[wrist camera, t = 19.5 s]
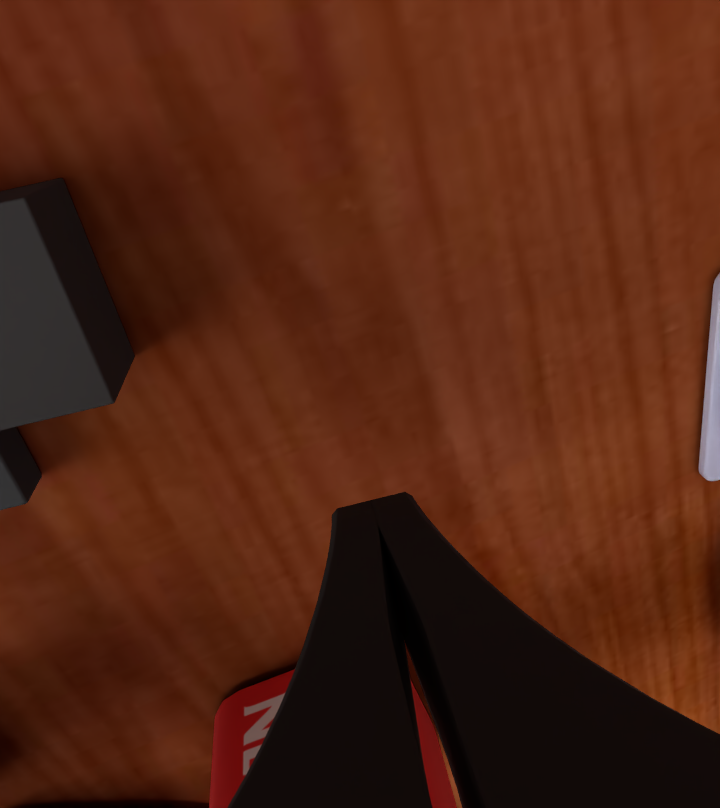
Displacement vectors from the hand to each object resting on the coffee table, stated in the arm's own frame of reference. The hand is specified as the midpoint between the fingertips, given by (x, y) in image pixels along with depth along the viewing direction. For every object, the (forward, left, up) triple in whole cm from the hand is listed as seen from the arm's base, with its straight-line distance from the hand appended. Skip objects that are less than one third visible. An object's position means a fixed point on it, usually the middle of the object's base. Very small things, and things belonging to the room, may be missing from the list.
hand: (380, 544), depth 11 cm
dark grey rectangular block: (+7, -4, -9) cm, 12 cm away
